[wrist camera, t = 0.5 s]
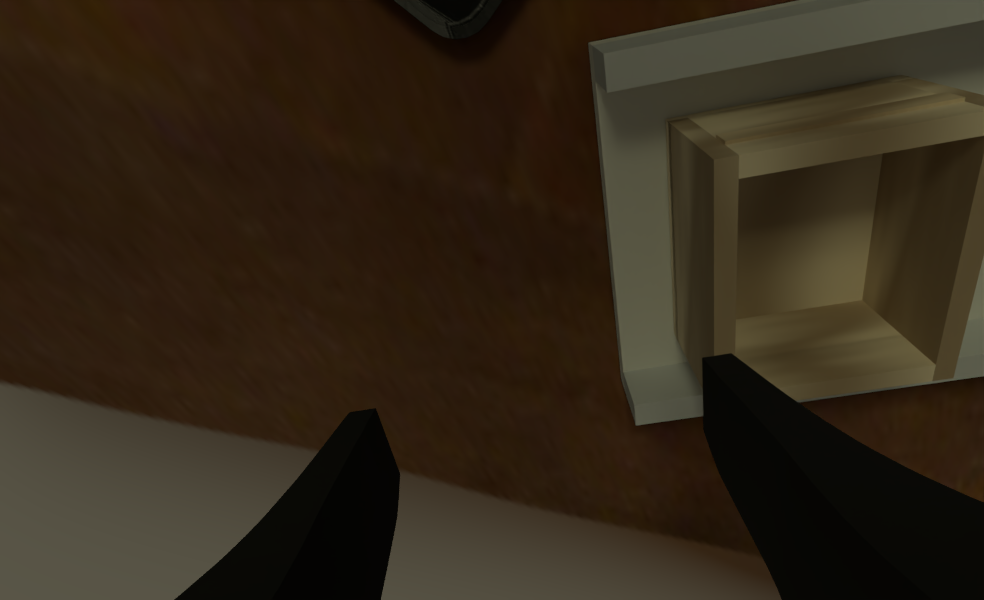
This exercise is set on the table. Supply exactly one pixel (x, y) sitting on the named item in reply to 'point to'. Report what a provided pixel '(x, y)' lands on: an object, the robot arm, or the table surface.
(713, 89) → the bay
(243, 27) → the table surface
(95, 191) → the table surface
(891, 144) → the crate
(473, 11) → the phone
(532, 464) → the table surface
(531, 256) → the table surface
